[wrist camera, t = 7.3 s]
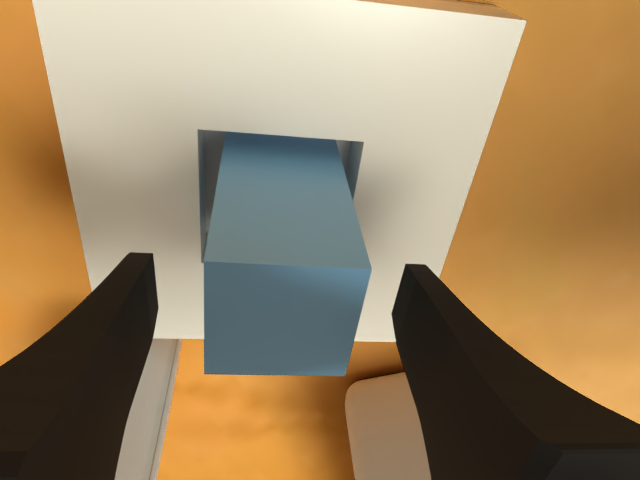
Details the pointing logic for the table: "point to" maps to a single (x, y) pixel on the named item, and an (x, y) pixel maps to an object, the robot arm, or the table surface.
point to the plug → (282, 260)
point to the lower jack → (270, 122)
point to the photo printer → (149, 413)
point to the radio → (385, 430)
